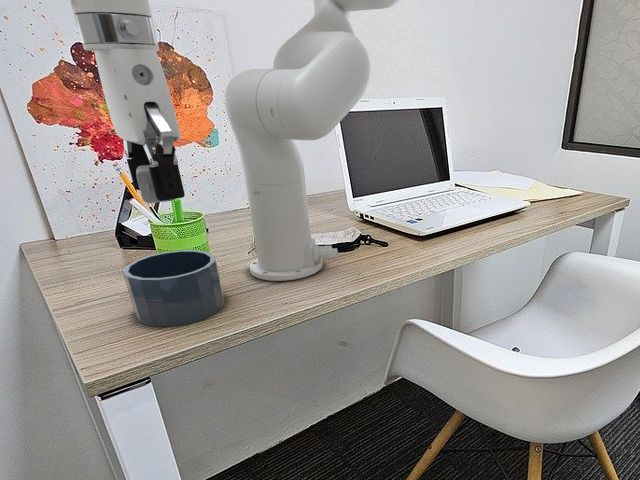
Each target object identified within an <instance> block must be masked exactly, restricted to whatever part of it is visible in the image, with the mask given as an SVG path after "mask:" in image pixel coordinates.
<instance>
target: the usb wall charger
mask: <svg viewBox="0 0 640 480" xmlns="http://www.w3.org/2000/svg"><path fill="white" fill-rule="evenodd" d="M148 167H152V166H151V165H142V166H138V167H137V169H136V177H137V181H138V185H139V188H140V190H139V192H140V195H141V199H142V201H143V202H144V203H147V204H154V203H155V204H156V203H165V202H173V201H176V199H171V200H165V201H159V200H158V199H157V198H156V194H155V191H154V187H153V183H152V179H151V175H150V171H149V168H148Z"/></svg>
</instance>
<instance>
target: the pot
mask: <svg viewBox="0 0 640 480" xmlns="http://www.w3.org/2000/svg"><path fill="white" fill-rule="evenodd" d="M218 268H219V267H218V262H217V257H216V255H214V254H212V253H211V252H208V251H203V250H199V249H198V250H197V249H190V250H189V249H182V250H181V249H180V250H172V251H163V252H159V253H154V254H149V255H146V256H143V257H141V258H139V259H136V260H134V261H132V262H130V263H129V264H127V265H126V266H124V268H123V270H122V275H123V279H124V282H125V284H126V288H127V292H128V296H129V298H130V301H131V304H132V308H133V312H134V314H135V317H136V318H137V320H138V321H139V322H140V323H142V324H144V325H146V326H150V327H157V328H158V327H161V328H164V327H166V328H167V327H177V326H183V325H189V324H193V323H196V322H200V321H202V320H204V319H208V318H209V317H211V316H213V315H215V314H216V313H218V312H220V310H221V309H222V308H223V306H224V304H225V299H224V291H223V287H222V283H221V277H220V272H219V269H218Z"/></svg>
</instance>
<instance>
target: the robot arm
mask: <svg viewBox="0 0 640 480" xmlns="http://www.w3.org/2000/svg"><path fill="white" fill-rule="evenodd" d="M400 1H401V0H313V9H314V14H313V16H312V18H311V19H310V20H309V21H308V22H307V23H305V24H304V26H302V27H301V28H300V29H299V30H298V31H296V33H294V34H293V35H291V37H289V38H288V39H287V40H286V41H285V42H284V43H283V44H282V45H281V46H280V47H279V48H278V50H277V51H276V54H275V55H274V60H273V63H272V68H253V69H247V70H244V71H241V72H239V73H236V75H234V76H233V77H232V78H231V79H230V81H229V82H228V83H227V85H226V87H225V91H224V107H225V113H226V116H227V119H228V123H229V125H230V127H231V130H232V133H233V136H234V139H235V141H236V145H237V150H238V153H239V157H240V162H241V168H242V173H243V178H244V186H245V192H246V198H247V204H248V210H249V216H250V222H251V228H252V229H251V230H252V234H253V240H254V246H255V253H256V258H255V259H253V260H252V261H251V262H250V264H249V265H248V266H249V272H250V274H251V275H252V276H253V277H255V278H257V279H260V280H264V281H272V282H284V281H293V280H299V279H303V278H307V277H309V276H313V275H314V274H316V273H318V272H319V271H320V270H321V269H322V268H323V267H324V266H323V265H324V263H323V260H329V261H330V260H338V259H339V250H338V249H339V248H337V247H335V248H333V246H332V245H319V244H316V238H315V237H312V234H311V233H312V232H311V225H310V217H309V216H310V215H309V207H308V198H307V188H306V176H305V169H304V164H303V160H302V156H301V154H300V152H299V149H298V148H297V146H296V143H295V142H294V141H317V140H321V139H322V138H324V137H326V136H327V135H329V134H330V133H331V132H332V131H333V130H334V129H335V128H336V127H337V126H338V125H339V124H340V122H341V121H343V119H344V118H345V117H346V116H347V115H348V114H349V112H351V110H353V108H354V107H355V106H356V105H357V103H359V101H360V100H361V99H362V98H363V96H364V94H365V93H366V91H367V88H368V86H369V83H370V79H371V69H372V68H371V67H372V66H371V58H370V54H369V51H368V49H367V47H366V45H365V44H364V43H363V41H362V40H361V39H360V38H359V37H358V36H357V35H356V30H355V28H354V26H353V24H352V22H351V12H359V11H370V10H371V11H372V10H382V9H383V10H384V9H385V10H386V9H389V8H393V7H394V6H397V4H398V3H399V2H400ZM69 2H70V7H71V8H72V12H73V15H74V19H75V23H76V26H77V30H78V33H79V36H80V41H81V44H82V47H83V50H84V51H91V52H94V56H95V61H96V66H97V72H98V75H99V80H100V84H101V87H102V91H103V95H104V98H105V103H106V107H107V110H108V115H109V117H110V120H111V123H112V124H111V125H112V126H113V129H114V132H115V134H116V135H117V137H119V138H120V139H121V142H122V144H123V151H124V154H125V157H126V162H127V166H128V170H129V173H130V177H131V181H132V184H133V187H134V190H136V191H140V188H139V185H138V181H137V177H136V169H137V167H138V166H142V165H151V166H152V167H148V168H149V171H150V175H151V179H152V183H153V187H154V191H155V194H156V198H157V199H158V200H159V201H165V200H171V199H175V200H177V199H182V198H183V199H184V197H185V190H184V185H183V180H182V176H181V171H180V168H179V161H178V156H177V155H176V151H177V150H176V149H177V148H176V147H175V145H174V143H176V142H179V141H180V139H181V137H182V135H181V130H180V126H179V121H178V118H177V114H176V110H175V107H174V104H173V99H172V96H171V92H170V88H169V85H168V82H167V79H166V75H165V72H164V69H163V66H162V64H161V61H160V58H159V55H158V53H157V52H160V46H159V43H158V39H157V34H156V33H157V32H156V29H155V25H154V20H153V18H152V17H153V16H152V11H151V7H150V2H149V0H69Z"/></svg>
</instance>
